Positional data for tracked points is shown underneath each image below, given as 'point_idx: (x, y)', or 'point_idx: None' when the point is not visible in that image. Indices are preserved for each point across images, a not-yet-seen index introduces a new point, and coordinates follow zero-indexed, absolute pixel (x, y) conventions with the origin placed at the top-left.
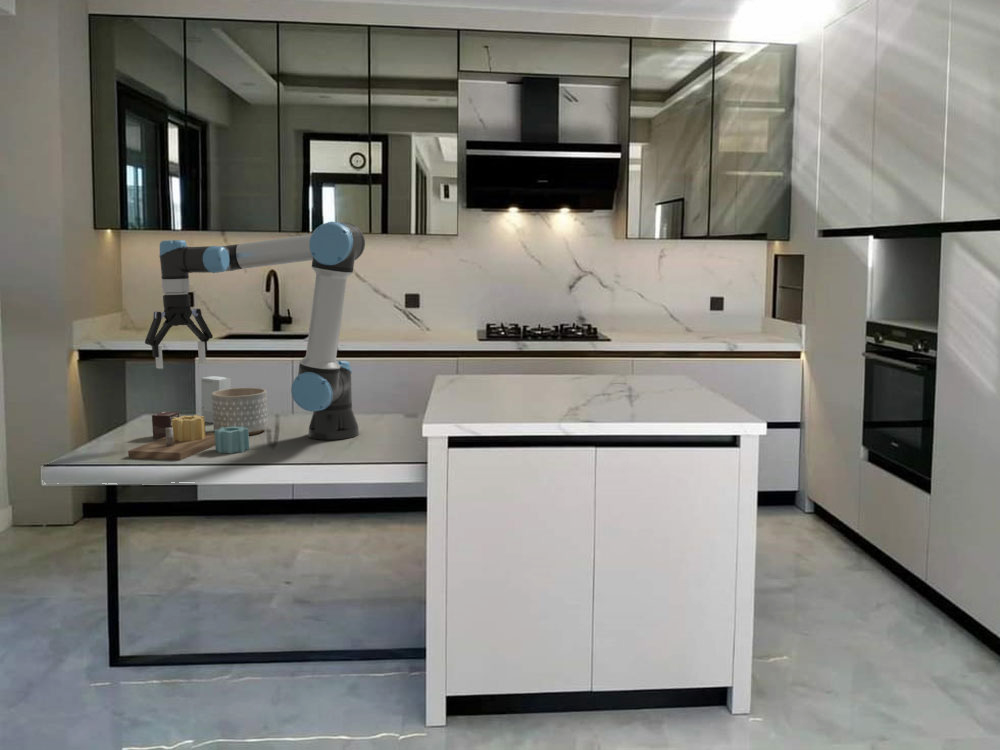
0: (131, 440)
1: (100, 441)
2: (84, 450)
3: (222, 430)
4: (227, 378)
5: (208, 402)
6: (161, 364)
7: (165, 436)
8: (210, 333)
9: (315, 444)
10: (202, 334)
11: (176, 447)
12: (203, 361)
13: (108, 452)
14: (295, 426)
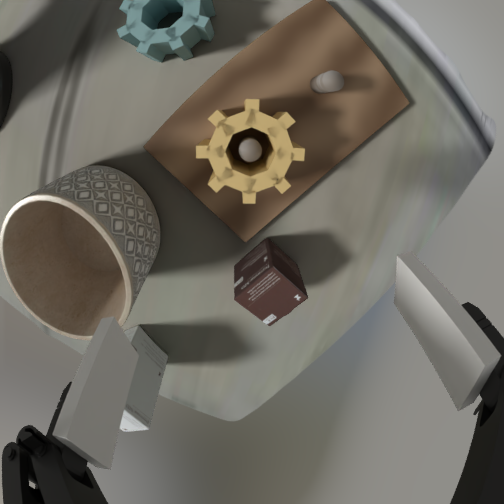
0: (338, 272)
1: (381, 294)
2: (430, 233)
3: (189, 7)
4: None
5: (146, 374)
6: (419, 266)
7: (277, 247)
8: (6, 473)
9: (27, 23)
10: (48, 490)
11: (312, 52)
12: (110, 326)
13: (412, 185)
14: None
